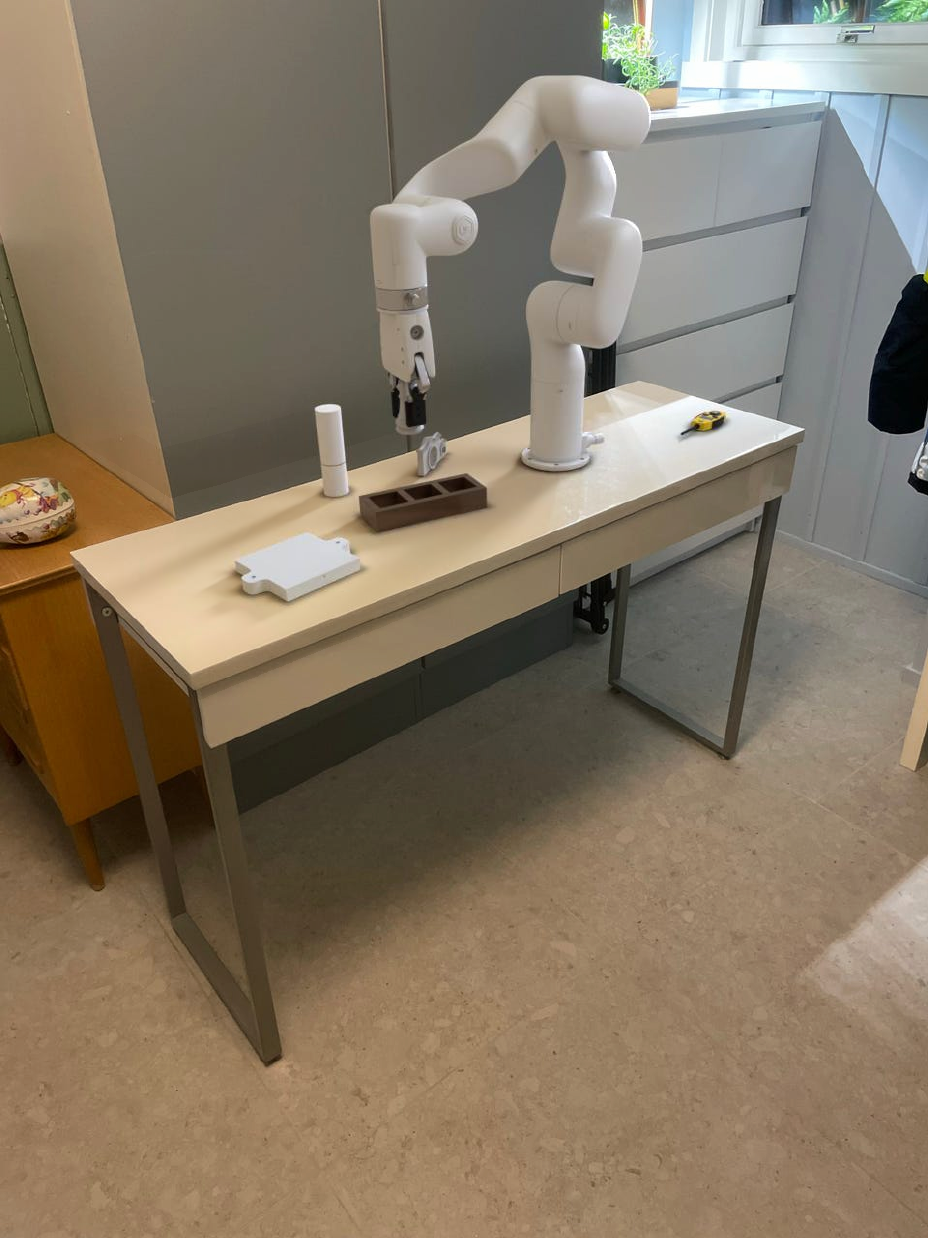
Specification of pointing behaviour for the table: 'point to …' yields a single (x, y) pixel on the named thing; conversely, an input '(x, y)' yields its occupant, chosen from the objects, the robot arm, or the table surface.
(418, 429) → the rook chess piece
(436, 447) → the white ornate piece
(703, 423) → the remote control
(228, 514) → the table surface
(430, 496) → the piece stand
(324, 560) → the mounting plate
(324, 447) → the tube
